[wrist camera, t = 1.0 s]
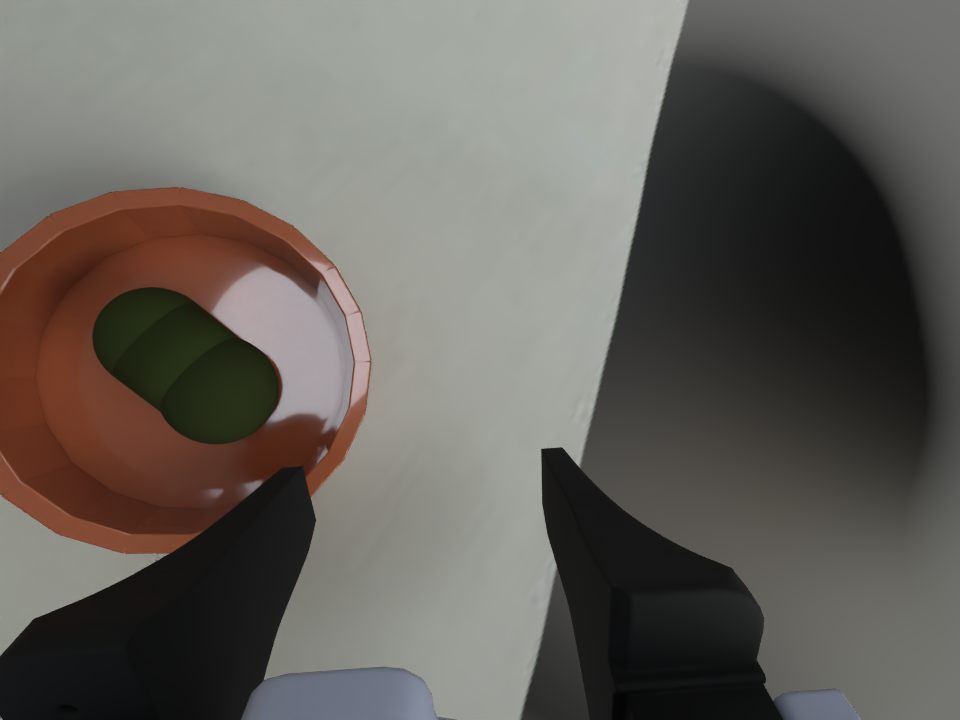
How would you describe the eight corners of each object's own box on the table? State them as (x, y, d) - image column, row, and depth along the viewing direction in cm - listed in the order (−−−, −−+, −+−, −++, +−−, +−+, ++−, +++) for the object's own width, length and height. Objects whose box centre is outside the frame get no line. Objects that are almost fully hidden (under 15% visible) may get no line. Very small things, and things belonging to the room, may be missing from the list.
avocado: (301, 383, 27) (300, 384, 22) (231, 458, 25) (215, 476, 21) (169, 273, 25) (137, 249, 20) (86, 348, 24) (32, 340, 19)
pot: (60, 563, 23) (0, 609, 19) (-13, 240, 23) (-94, 204, 18) (383, 475, 28) (399, 493, 24) (328, 209, 28) (333, 175, 23)
